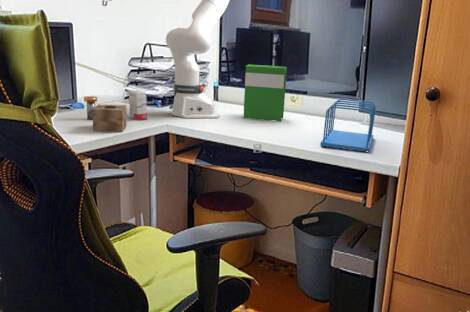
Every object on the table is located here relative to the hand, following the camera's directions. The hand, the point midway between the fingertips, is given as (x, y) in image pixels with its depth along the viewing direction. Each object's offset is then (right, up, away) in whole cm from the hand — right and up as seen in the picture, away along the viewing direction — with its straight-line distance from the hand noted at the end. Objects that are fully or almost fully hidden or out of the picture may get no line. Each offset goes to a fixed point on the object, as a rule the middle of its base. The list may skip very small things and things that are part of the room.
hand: (107, 2), depth 185 cm
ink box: (+7, -43, +24) cm, 50 cm away
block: (+1, -49, +2) cm, 49 cm away
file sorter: (+93, -55, -3) cm, 108 cm away
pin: (-11, -44, +17) cm, 49 cm away
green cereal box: (+63, -42, +37) cm, 85 cm away
